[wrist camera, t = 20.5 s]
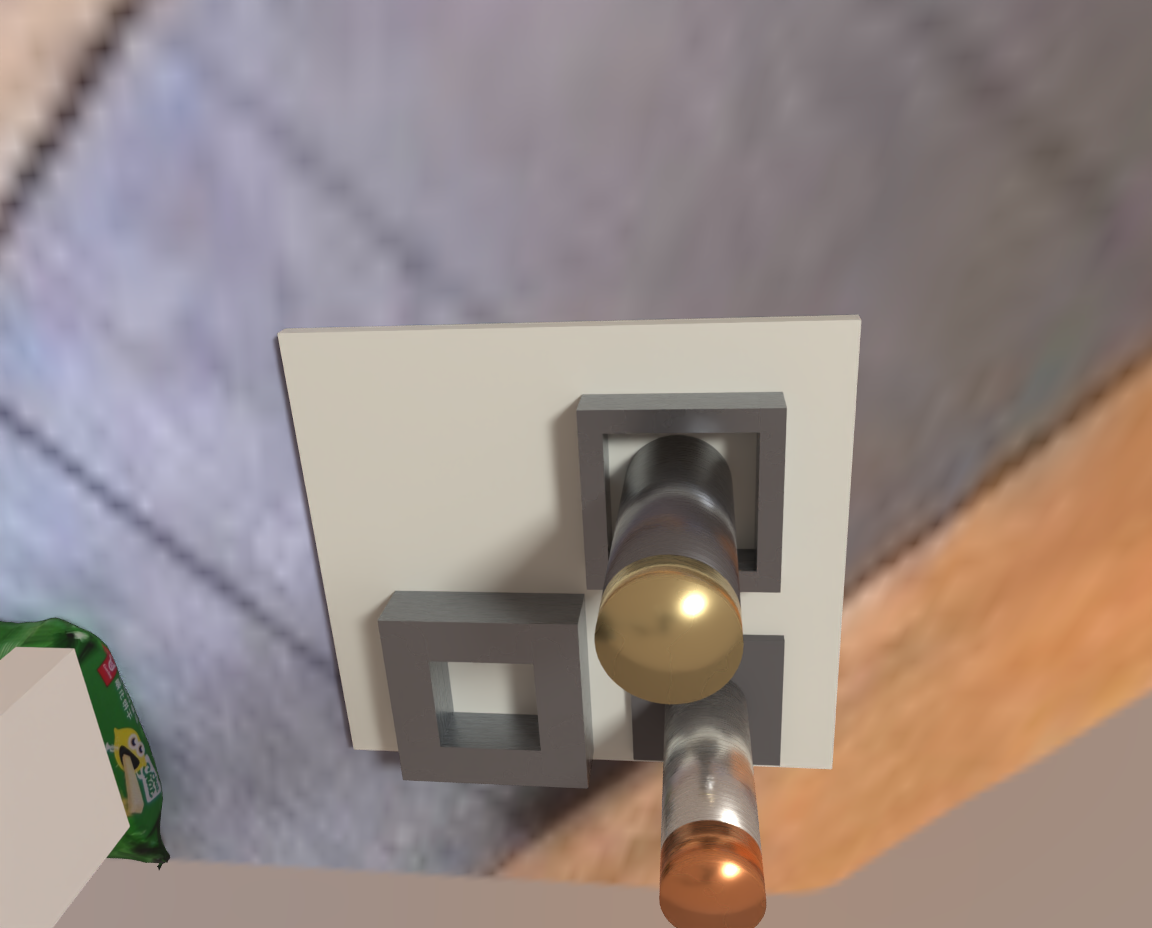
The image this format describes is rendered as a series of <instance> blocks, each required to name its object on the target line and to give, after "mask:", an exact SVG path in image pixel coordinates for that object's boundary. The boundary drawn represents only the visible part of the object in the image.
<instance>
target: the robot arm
mask: <svg viewBox="0 0 1152 928" xmlns="http://www.w3.org/2000/svg"><path fill="white" fill-rule="evenodd" d="M129 827H130V825H129V822H128V819H127V815H126V812H125V809H124V806H123V803H122V800H121V796H120V793H119V790H118V787H117V784H116V780H115V777H114V774H113V771H112V768H111V764H110V761H109V758H108V755H107V752H106V748H105V745H104V742H103V739H102V736H101V732H100V729H99V726H98V723H97V720H96V716H95V713H94V710H93V707H92V704H91V700H90V697H89V694H88V691H87V688H86V684H85V681H84V678H83V675H82V672H81V668H80V665H79V662H78V659H77V656H76V652H75V649H74V648H37V647H15V648H14V649H13V650H12V651H11V652H9V653H8V654H7V655H6V656H5V657H3V658H2V659H1V660H0V928H53V927H54V926H55V925H56V923H57V922H58V921H59V919H60V918H61V917H62V915H63V914H64V913H65V911H66V910H67V909H68V907H69V906H70V905H71V903H72V902H73V901H74V899H75V898H76V897H77V895H78V894H79V893H80V891H81V890H82V889H83V888H84V886H85V885H86V884H87V882H88V881H89V880H90V878H91V877H92V876H93V875H94V873H95V872H96V871H97V869H98V868H99V867H100V865H101V864H102V863H103V861H104V860H105V859H106V857H107V856H108V855H109V853H110V852H111V851H112V850H113V848H114V847H115V846H116V844H117V843H118V842H119V840H120V839H121V838H122V836H123V835H124V834H125V832H126V831H127V830H128V828H129Z"/></svg>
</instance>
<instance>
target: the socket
mask: <svg viewBox="0 0 1152 928" xmlns="http://www.w3.org/2000/svg"><path fill="white" fill-rule="evenodd" d="M576 414H577V431H578V449H579V466H580V483H581V500H582V517H583V534H584V552H585V569H586V586H587V590H603V587H604V582H605V577H606V572H607V566H608V561H609V556H610V551H611V546H612V541H613V538H612V516H611V494H610V471H609V449H608V434H625V433H757V447H756V493H755V539H754V549H737V557H738V571H739V585H740V592H764V593H781V566H782V538H783V509H784V480H785V451H786V423H787V406H786V402H785V398H784V394H783V392H723V393H647V394H582V396H581V399H580V402H579V404H578V407H577V410H576Z"/></svg>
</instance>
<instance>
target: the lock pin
mask: <svg viewBox="0 0 1152 928" xmlns="http://www.w3.org/2000/svg"><path fill="white" fill-rule="evenodd" d="M659 899H660V906H661V909H662V912H663V914H664V915H665V917H666V918H667V919H668V921H669V922H670V923H671V924H672V925H673V926H675V927H676V928H754V927H755V926H757V925H758V923H759V922H760V921H761V919H762V918H763V916H764V914H765V910H766V894H765V884H764V873H763V863H762V853H761V843H760V833H759V822H758V812H757V802H756V792H755V781H754V771H753V761H752V751H751V741H750V730H749V720H748V710H747V702H746V698H745V695H744V693H743V692H742V690H741V689H740V688H739V687H738V685H737V684H735V683H734V682H733V681H731V680H729V682H728V683H727V684H726V685H724V686H723V687H722V688H721V689H720V690H718V691H717V692H715V693H714V694H712V695H710V696H708V697H706V698H703V699H701V700H698V701H694V702H690V703H684V704H665V726H664V760H663V794H662V828H661V862H660V896H659Z"/></svg>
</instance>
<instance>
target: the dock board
mask: <svg viewBox="0 0 1152 928" xmlns="http://www.w3.org/2000/svg"><path fill="white" fill-rule="evenodd" d="M860 331H861V319H860V317H859V316H858V315H830V316H788V317H747V318H705V319H663V320H622V321H580V322H538V323H497V324H455V325H413V326H372V327H330V328H288V329H284V330H282V331H280V332H279V333H277V334H278V340H279V345H280V351H281V356H282V362H283V367H284V372H285V378H286V383H287V389H288V394H289V400H290V405H291V410H292V416H293V421H294V427H295V432H296V438H297V443H298V448H299V454H300V459H301V465H302V470H303V476H304V481H305V487H306V492H307V497H308V503H309V508H310V514H311V519H312V525H313V530H314V535H315V541H316V546H317V552H318V557H319V563H320V568H321V573H322V579H323V584H324V590H325V595H326V601H327V606H328V612H329V617H330V622H331V628H332V633H333V639H334V644H335V650H336V655H337V660H338V666H339V671H340V677H341V682H342V688H343V693H344V698H345V704H346V709H347V715H348V720H349V726H350V731H351V737H352V742H353V747H354V749H355V750H380V751H398V745H397V739H396V733H395V726H394V720H393V714H392V708H391V701H390V695H389V689H388V683H387V677H386V670H385V664H384V658H383V652H382V646H381V639H380V633H379V627H378V621H377V620H378V619H379V617H380V615H381V614H382V612H383V610H384V609H385V607H386V605H387V604H388V602H389V600H390V599H391V597H392V595H393V593H394V592H395V591H450V592H510V593H570V594H585V610H586V626H587V643H588V660H589V677H590V694H591V711H592V727H593V744H594V754H593V759H598V760H622V761H646V762H663V761H650V760H634V758H633V733H632V707H631V694H630V693H628V692H627V691H625V690H624V689H622V688H621V687H620V686H618V685H617V684H616V683H615V682H614V681H613V680H612V679H611V678H610V677H609V676H608V675H607V673H606V672H605V670H604V669H603V667H602V666H601V664H600V661H599V659H598V657H597V653H596V650H595V642H594V637H595V628H596V623H597V618H598V613H599V607H600V602H601V597H602V592H603V590H587V586H586V569H585V552H584V534H583V517H582V500H581V483H580V466H579V449H578V431H577V414H576V410H577V407H578V404H579V402H580V399H581V396H582V394H647V393H723V392H783V394H784V398H785V402H786V406H787V423H786V451H785V480H784V509H783V538H782V566H781V593H764V592H740V600H741V614H742V628H743V634H747V635H784V640H785V648H784V675H783V701H782V728H781V754H780V766H771V765H753V766H767V767H791V768H816V769H832V762H833V746H834V731H835V716H836V700H837V685H838V669H839V654H840V639H841V623H842V608H843V593H844V577H845V562H846V546H847V531H848V516H849V500H850V485H851V470H852V454H853V439H854V423H855V408H856V393H857V377H858V362H859V347H860ZM669 435H686V436H692V437H695V438H698V439H701V440H703V441H705V442H707V443H708V444H710V445H711V446H713V447H714V448H715V449H716V450H717V451H718V452H719V453H720V454H721V455H722V456H723V458H724V459H725V460H726V462H727V464H728V466H729V469H730V472H731V476H732V485H733V499H734V514H735V528H736V542H737V549H754V539H755V493H756V447H757V433H625V434H608V449H609V471H610V494H611V516H612V538H613V536H614V531H615V525H616V520H617V515H618V510H619V505H620V500H621V495H622V490H623V485H624V479H625V474H626V470H627V467H628V465H629V463H630V461H631V459H632V458H633V456H634V455H635V454H636V453H637V452H638V451H639V450H640V449H641V448H642V447H643V446H644V445H646V444H647V443H649V442H651V441H653V440H655V439H658V438H661V437H664V436H669ZM448 669H449V677H450V685H451V692H452V700H453V708H454V712H471V713H500V714H528V715H538V712H537V701H536V689H535V678H534V666H533V664H508V663H471V662H448Z"/></svg>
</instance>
